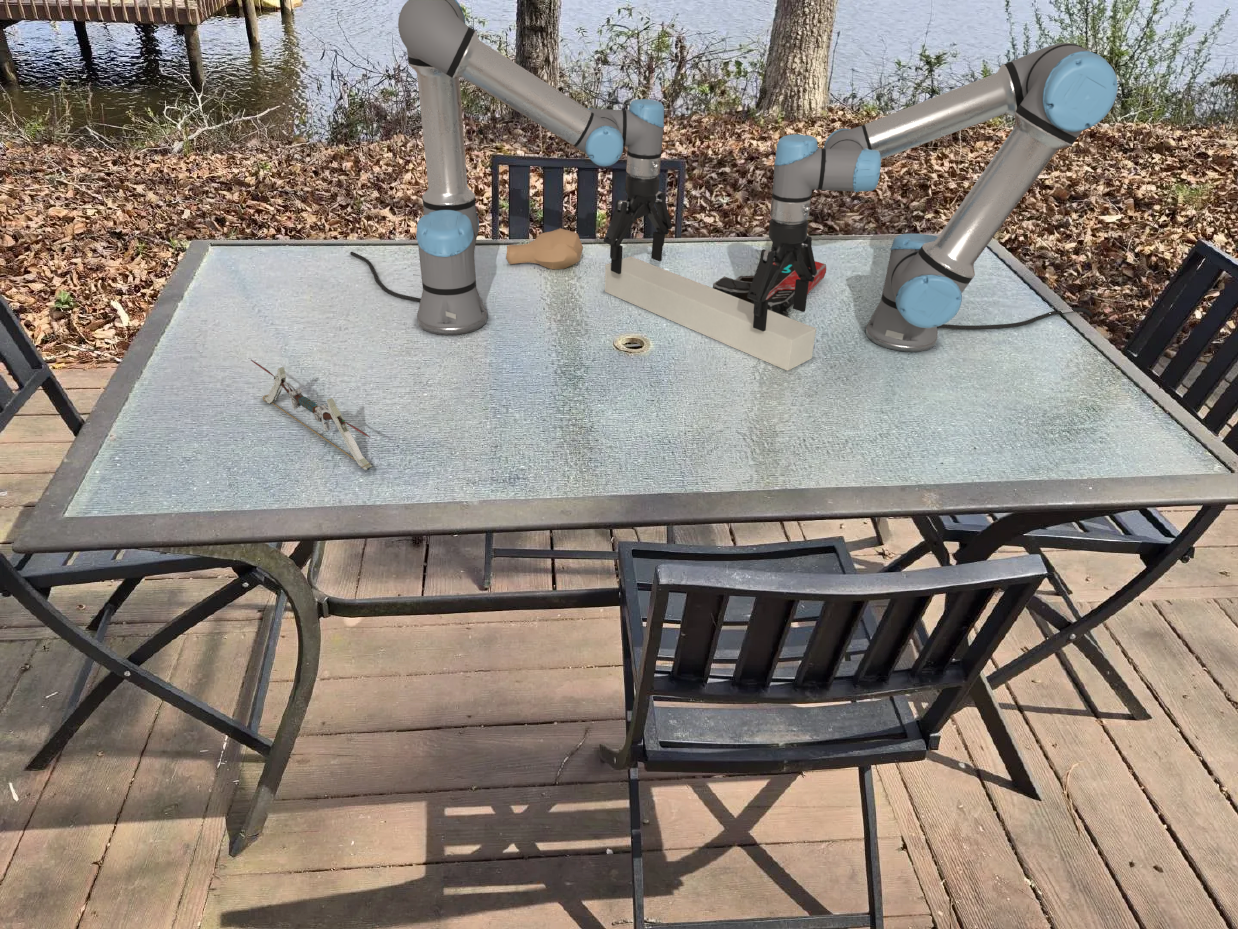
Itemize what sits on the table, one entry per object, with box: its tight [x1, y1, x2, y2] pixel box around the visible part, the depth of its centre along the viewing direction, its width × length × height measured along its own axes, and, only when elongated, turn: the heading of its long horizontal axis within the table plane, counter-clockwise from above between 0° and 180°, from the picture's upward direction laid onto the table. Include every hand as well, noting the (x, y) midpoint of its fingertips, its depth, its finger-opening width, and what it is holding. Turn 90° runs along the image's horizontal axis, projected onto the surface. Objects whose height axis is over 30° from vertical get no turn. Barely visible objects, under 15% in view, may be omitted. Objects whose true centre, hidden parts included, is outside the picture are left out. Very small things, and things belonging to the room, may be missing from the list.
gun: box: [712, 260, 827, 317], centre depth 215 cm, size 4×31×19 cm
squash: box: [505, 227, 584, 270], centre depth 225 cm, size 11×20×9 cm, turn 90°
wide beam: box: [604, 256, 817, 372], centre depth 198 cm, size 55×9×7 cm, turn 44°
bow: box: [250, 359, 373, 471], centre depth 154 cm, size 39×2×10 cm, turn 47°
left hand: (636, 265), depth 207 cm, fingers open, 13 cm apart
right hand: (779, 319), depth 184 cm, fingers open, 13 cm apart
